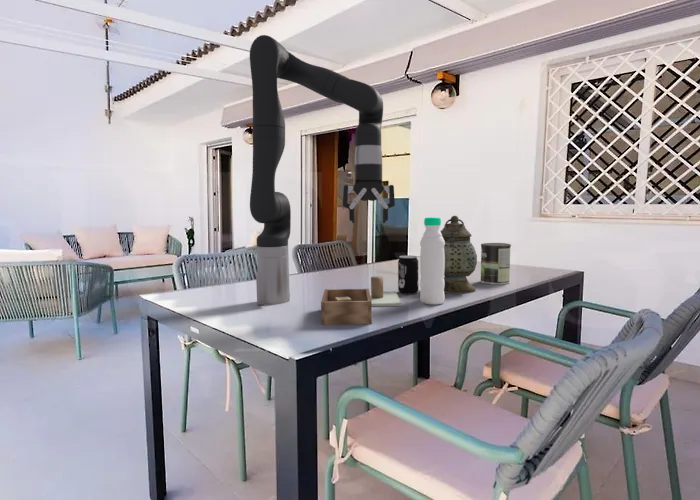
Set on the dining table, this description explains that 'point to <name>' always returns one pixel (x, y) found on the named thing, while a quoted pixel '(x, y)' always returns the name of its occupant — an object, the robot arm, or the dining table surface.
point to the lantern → (458, 257)
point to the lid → (382, 294)
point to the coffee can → (495, 263)
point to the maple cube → (342, 299)
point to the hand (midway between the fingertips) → (368, 222)
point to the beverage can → (408, 274)
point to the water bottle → (432, 263)
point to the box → (346, 307)
